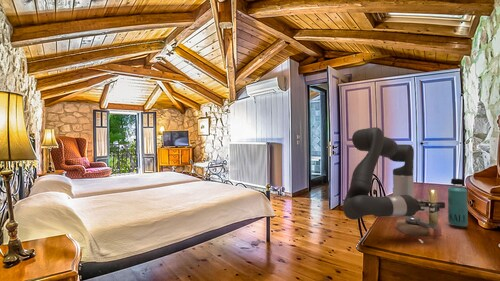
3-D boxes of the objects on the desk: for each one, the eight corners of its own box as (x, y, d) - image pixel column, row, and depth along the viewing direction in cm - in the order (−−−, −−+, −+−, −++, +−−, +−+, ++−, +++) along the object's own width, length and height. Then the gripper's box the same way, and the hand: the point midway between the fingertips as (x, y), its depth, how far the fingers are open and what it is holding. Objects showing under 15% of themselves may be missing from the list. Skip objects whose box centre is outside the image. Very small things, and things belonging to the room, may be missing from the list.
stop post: (432, 233, 98) (431, 218, 98) (438, 233, 98) (438, 218, 98) (436, 236, 96) (436, 220, 96) (443, 235, 96) (442, 220, 96)
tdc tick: (418, 239, 93) (418, 239, 93) (421, 239, 93) (421, 239, 93) (420, 242, 90) (420, 242, 90) (423, 243, 90) (423, 242, 90)
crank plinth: (391, 226, 107) (391, 219, 107) (417, 225, 108) (417, 218, 108) (407, 236, 96) (407, 228, 96) (436, 235, 97) (436, 227, 97)
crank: (402, 221, 103) (401, 185, 103) (411, 219, 105) (410, 184, 105) (432, 231, 92) (432, 191, 92) (441, 229, 94) (441, 189, 94)
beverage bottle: (458, 224, 108) (458, 177, 107) (473, 229, 101) (472, 179, 101) (443, 224, 107) (443, 177, 107) (457, 230, 101) (456, 180, 101)
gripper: (413, 199, 86) (457, 197, 88) (385, 191, 99) (424, 190, 102) (413, 222, 85) (458, 219, 88) (385, 210, 99) (424, 209, 102)
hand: (439, 203), depth 95 cm, fingers closed on crank, 3 cm apart
